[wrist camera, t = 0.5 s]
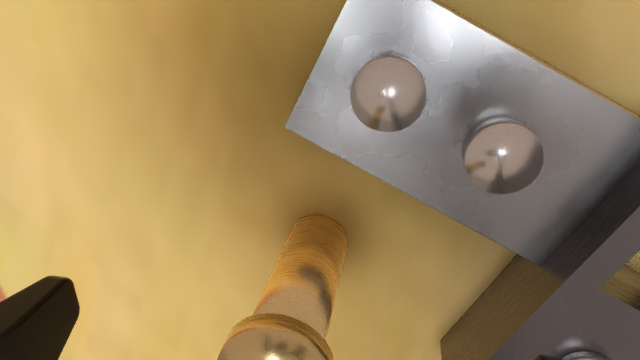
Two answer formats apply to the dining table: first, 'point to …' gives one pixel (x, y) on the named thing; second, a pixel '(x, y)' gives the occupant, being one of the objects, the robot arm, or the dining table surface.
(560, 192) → the chain ends
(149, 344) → the dining table surface
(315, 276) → the pin
